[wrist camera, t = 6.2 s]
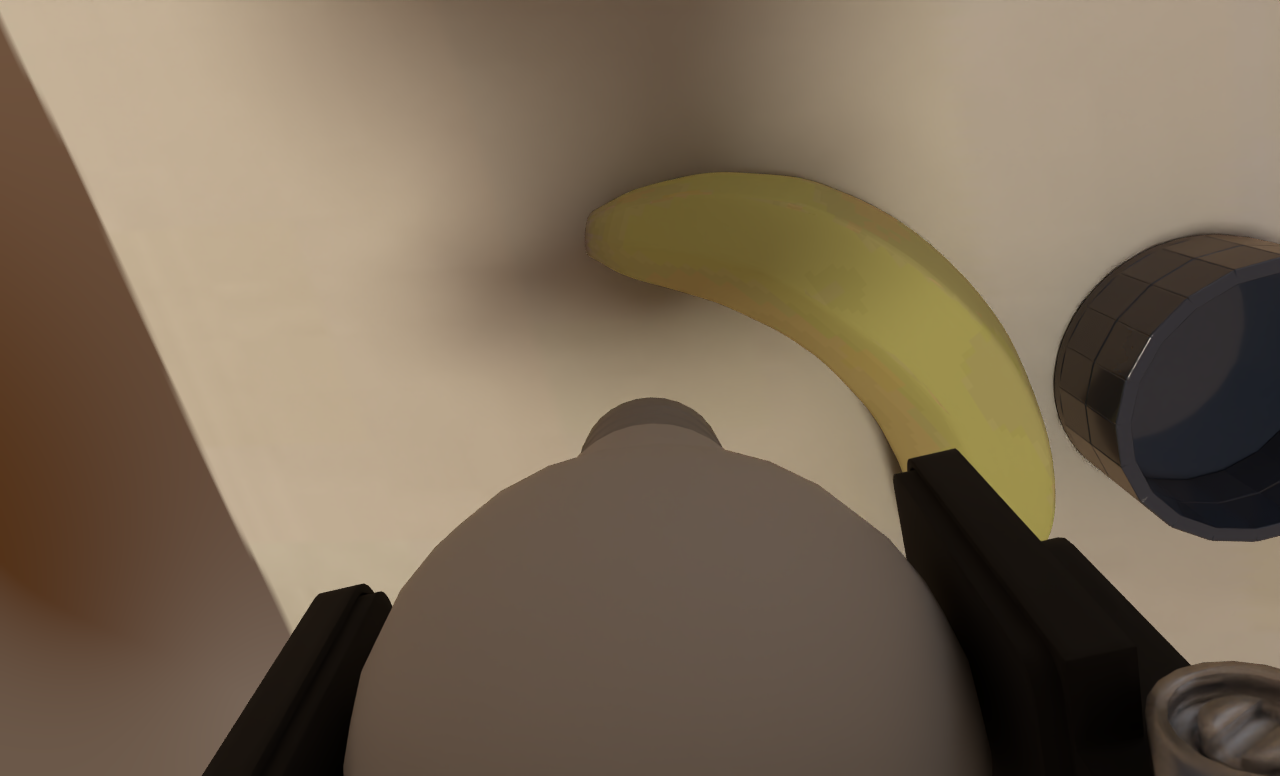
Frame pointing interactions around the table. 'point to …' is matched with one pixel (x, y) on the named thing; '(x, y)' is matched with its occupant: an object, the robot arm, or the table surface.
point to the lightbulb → (666, 629)
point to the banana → (848, 312)
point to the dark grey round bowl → (1183, 384)
